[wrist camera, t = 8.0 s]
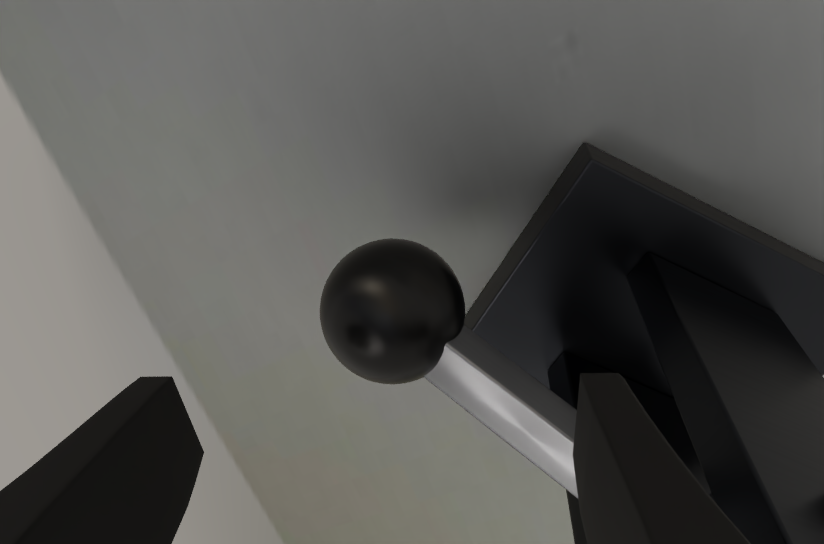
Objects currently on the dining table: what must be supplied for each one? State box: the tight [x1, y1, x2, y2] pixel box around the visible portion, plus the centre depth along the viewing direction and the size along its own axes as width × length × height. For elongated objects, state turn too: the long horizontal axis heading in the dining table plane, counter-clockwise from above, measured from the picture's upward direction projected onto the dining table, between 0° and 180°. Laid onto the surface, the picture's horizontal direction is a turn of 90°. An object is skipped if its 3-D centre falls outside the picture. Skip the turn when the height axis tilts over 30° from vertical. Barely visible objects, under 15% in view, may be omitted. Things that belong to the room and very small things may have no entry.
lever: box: [320, 239, 715, 501], centre depth 12 cm, size 12×3×3 cm, turn 65°
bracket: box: [464, 143, 824, 544], centre depth 14 cm, size 10×8×10 cm
